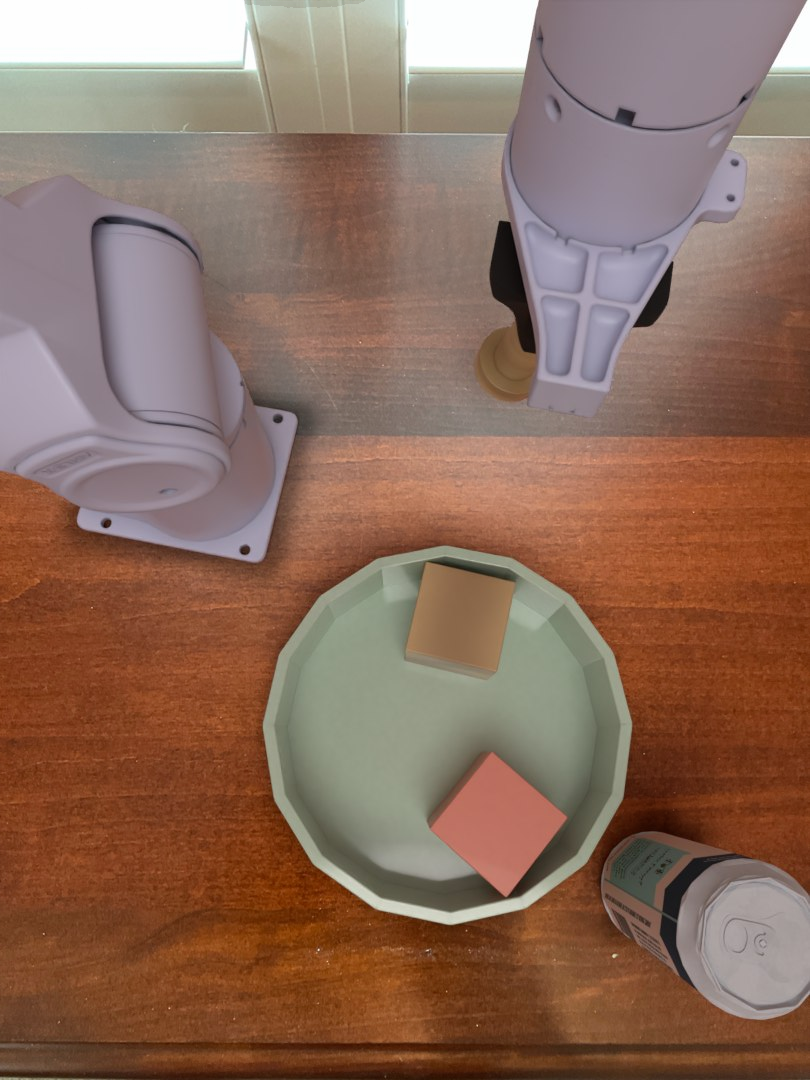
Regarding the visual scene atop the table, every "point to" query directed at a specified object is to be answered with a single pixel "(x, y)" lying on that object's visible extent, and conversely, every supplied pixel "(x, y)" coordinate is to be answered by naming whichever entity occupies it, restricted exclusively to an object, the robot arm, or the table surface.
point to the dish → (440, 736)
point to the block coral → (496, 822)
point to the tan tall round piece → (504, 366)
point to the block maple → (459, 621)
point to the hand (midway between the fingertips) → (552, 319)
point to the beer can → (714, 920)
